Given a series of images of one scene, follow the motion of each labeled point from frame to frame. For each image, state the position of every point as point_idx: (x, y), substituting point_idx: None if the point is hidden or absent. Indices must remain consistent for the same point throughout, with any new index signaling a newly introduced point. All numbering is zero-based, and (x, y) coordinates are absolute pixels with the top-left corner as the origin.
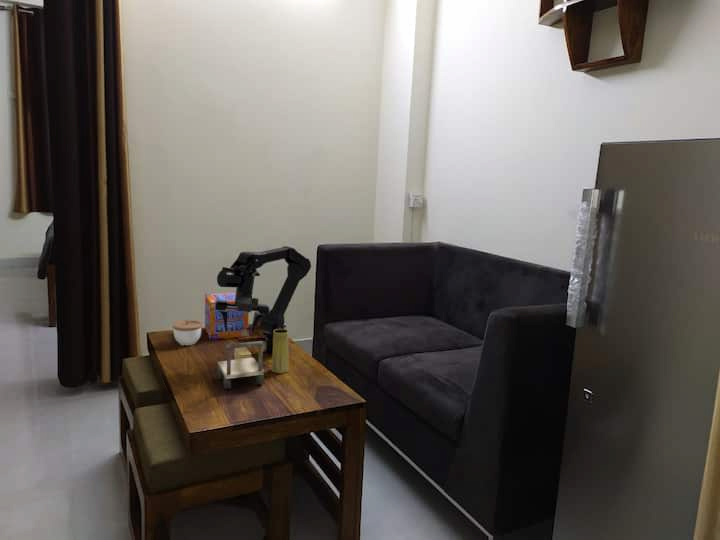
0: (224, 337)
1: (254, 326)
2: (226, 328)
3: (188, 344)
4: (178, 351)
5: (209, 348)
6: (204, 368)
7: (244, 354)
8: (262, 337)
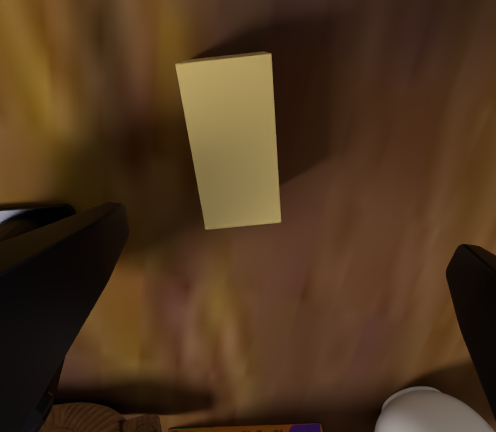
0: (264, 429)
1: (41, 235)
2: (477, 253)
3: (422, 389)
4: None
5: (350, 347)
6: (475, 86)
7: (235, 62)
8: (105, 407)
